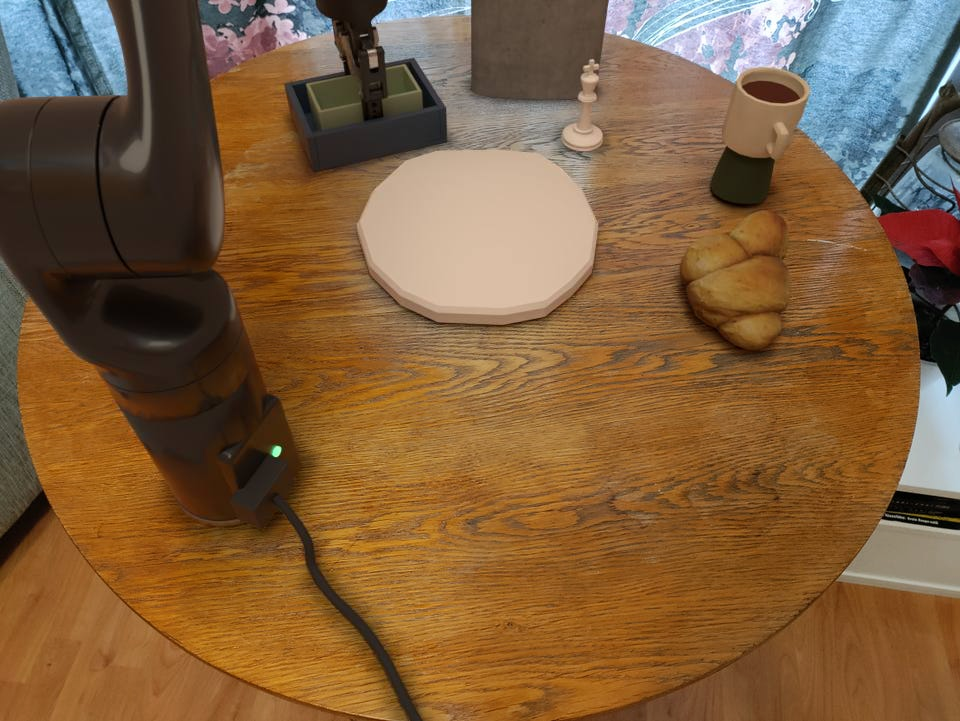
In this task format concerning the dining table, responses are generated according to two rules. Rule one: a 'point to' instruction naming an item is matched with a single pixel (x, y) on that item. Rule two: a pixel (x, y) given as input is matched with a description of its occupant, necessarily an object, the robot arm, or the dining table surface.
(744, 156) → the character mug
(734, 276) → the bread roll
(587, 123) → the chess piece
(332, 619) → the dining table surface
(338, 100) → the small bin
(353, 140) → the big bin
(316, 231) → the dining table surface
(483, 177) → the decorative plate
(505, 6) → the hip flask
